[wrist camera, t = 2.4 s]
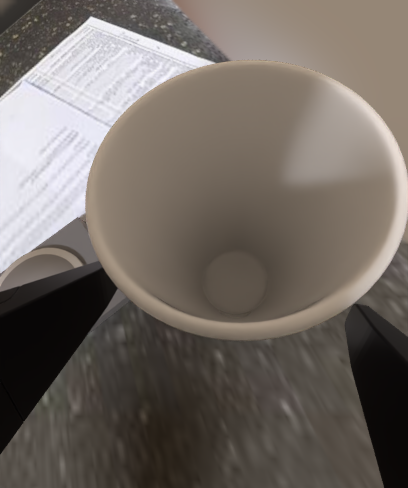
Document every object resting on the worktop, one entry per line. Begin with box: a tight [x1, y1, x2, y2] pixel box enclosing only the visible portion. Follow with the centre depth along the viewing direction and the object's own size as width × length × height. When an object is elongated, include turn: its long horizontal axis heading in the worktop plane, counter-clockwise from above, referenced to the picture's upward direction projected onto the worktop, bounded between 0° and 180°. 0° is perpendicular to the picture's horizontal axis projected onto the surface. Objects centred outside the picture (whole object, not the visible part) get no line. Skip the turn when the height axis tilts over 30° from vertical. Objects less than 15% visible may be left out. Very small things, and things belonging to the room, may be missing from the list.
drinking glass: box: [85, 60, 408, 341], centre depth 12 cm, size 7×7×15 cm
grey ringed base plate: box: [0, 217, 130, 335], centre depth 20 cm, size 12×9×2 cm
